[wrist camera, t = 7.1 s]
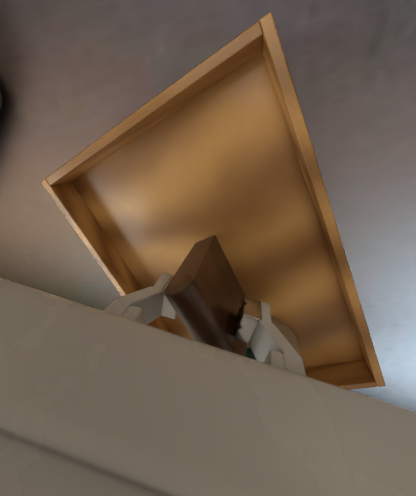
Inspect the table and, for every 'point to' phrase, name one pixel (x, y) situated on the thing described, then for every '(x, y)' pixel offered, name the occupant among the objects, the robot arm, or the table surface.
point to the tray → (224, 211)
